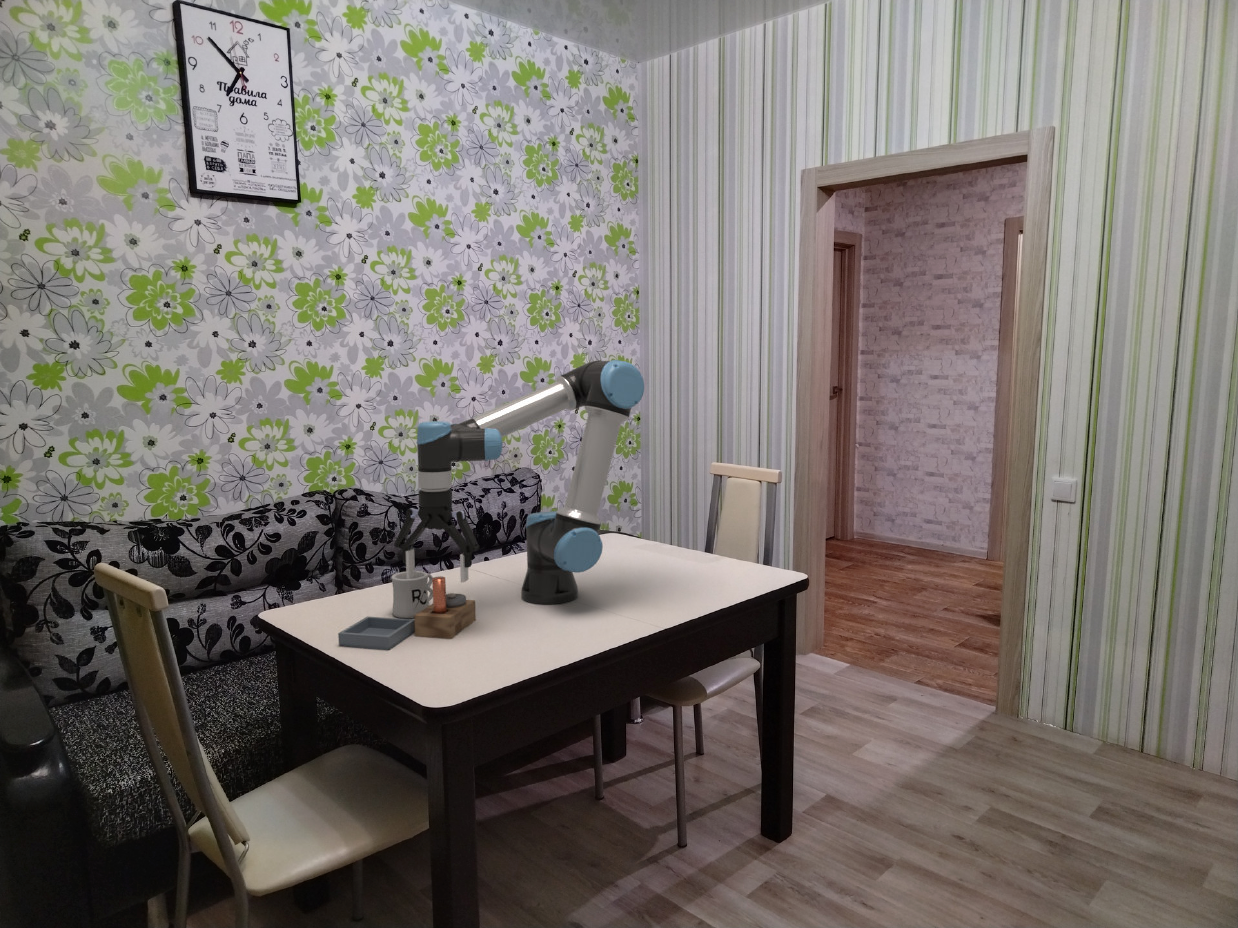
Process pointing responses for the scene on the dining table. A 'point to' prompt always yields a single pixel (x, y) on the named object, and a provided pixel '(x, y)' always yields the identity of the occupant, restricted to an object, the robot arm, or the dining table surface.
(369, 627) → the tray
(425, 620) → the block
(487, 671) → the dining table surface
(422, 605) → the mug
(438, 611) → the pin
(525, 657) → the dining table surface
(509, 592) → the dining table surface
